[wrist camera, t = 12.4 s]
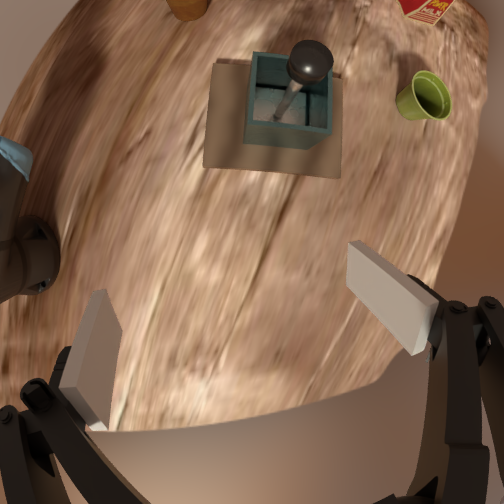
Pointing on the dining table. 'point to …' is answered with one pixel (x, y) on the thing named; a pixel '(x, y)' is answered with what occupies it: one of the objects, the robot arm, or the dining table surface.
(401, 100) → the plant pot
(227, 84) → the base plate
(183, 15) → the disposable coffee cup
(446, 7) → the milk carton
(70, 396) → the robot arm
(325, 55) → the plunger
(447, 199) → the dining table surface
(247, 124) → the box
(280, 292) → the dining table surface
